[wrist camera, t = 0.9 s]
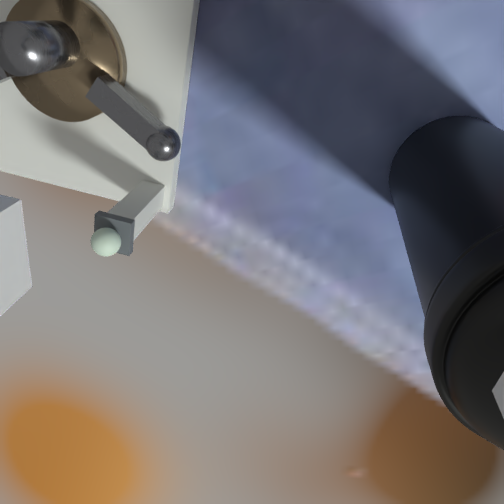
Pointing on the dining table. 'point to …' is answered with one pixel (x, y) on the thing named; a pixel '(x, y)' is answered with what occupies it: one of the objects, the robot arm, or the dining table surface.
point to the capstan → (77, 69)
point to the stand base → (112, 124)
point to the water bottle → (457, 259)
